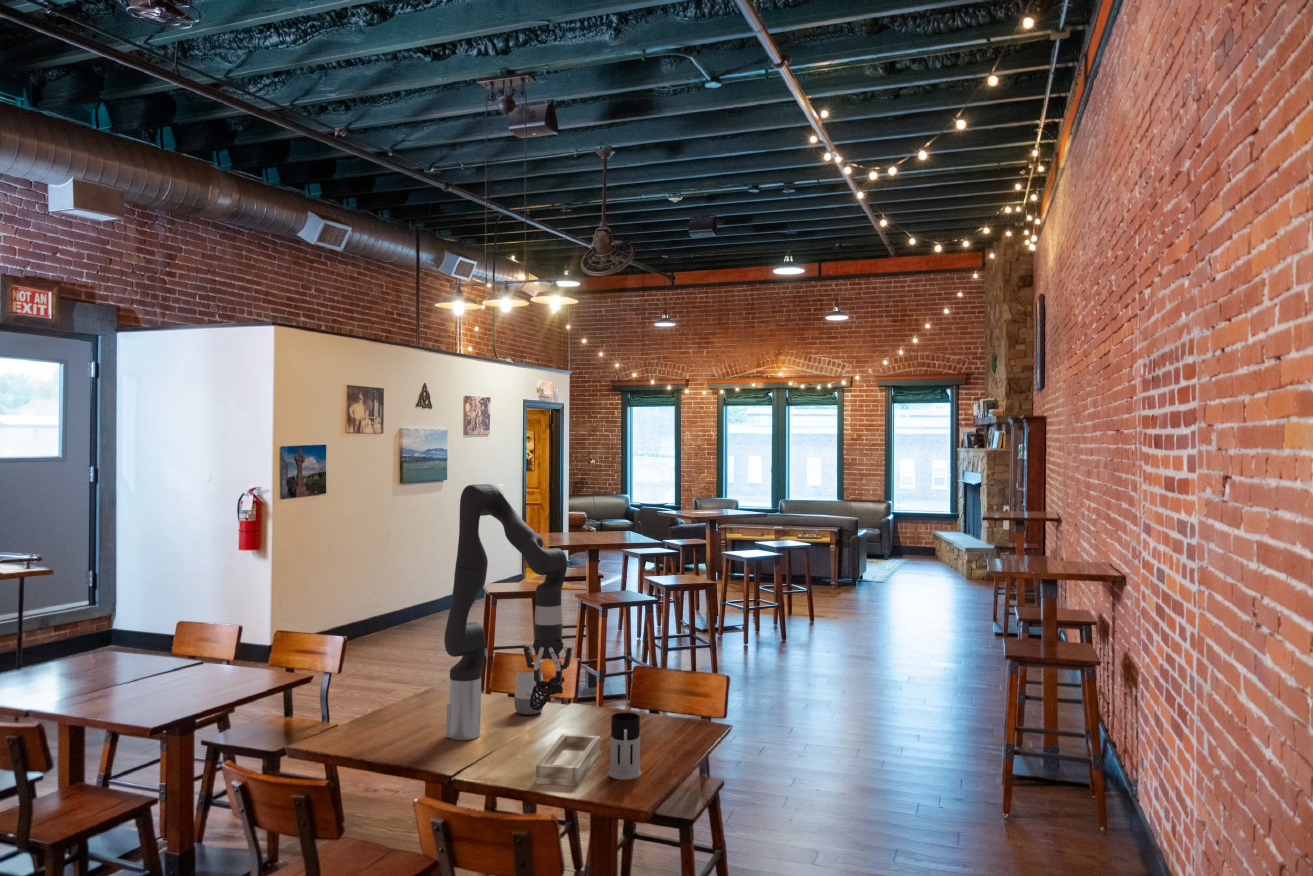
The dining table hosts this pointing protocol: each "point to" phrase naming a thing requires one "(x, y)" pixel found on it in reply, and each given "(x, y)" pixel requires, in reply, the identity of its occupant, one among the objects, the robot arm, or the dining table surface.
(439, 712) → the dining table surface
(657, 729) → the dining table surface
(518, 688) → the smart speaker
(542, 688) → the decorative element
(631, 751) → the glass holder
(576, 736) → the rectangular tray
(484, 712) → the dining table surface
